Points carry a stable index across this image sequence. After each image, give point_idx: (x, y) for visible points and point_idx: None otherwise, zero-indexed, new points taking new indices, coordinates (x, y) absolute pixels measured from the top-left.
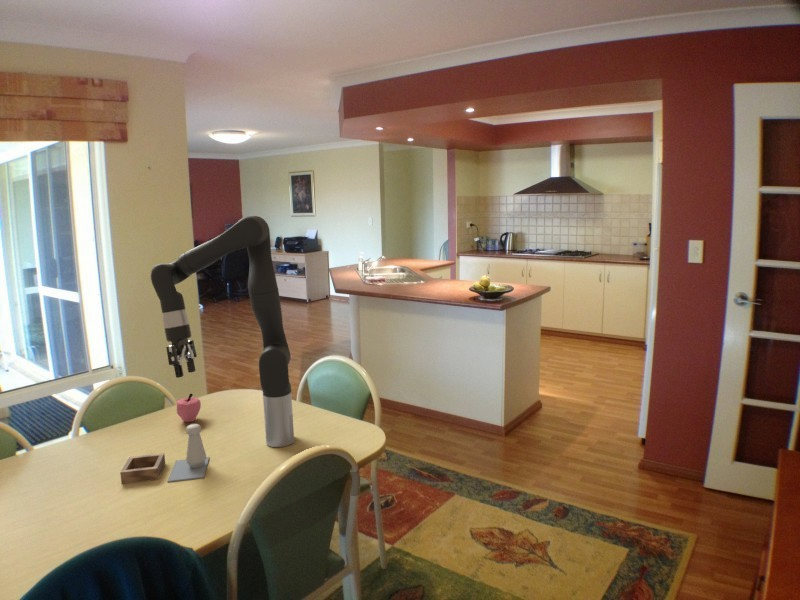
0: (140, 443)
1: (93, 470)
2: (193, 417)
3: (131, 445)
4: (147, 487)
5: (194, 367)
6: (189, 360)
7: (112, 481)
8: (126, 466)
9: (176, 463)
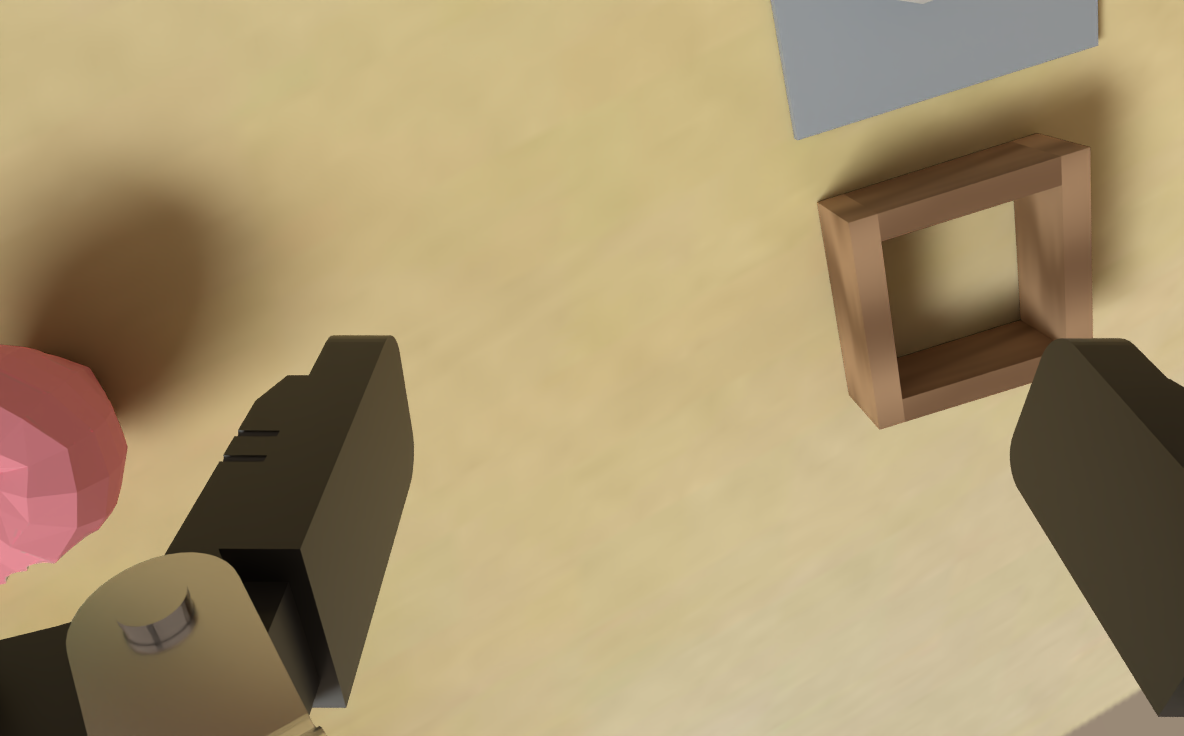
0: (512, 521)
1: (859, 565)
2: (65, 361)
3: (545, 556)
4: (1126, 151)
5: (339, 385)
6: (294, 663)
7: (1005, 399)
8: (1015, 372)
9: (844, 111)
